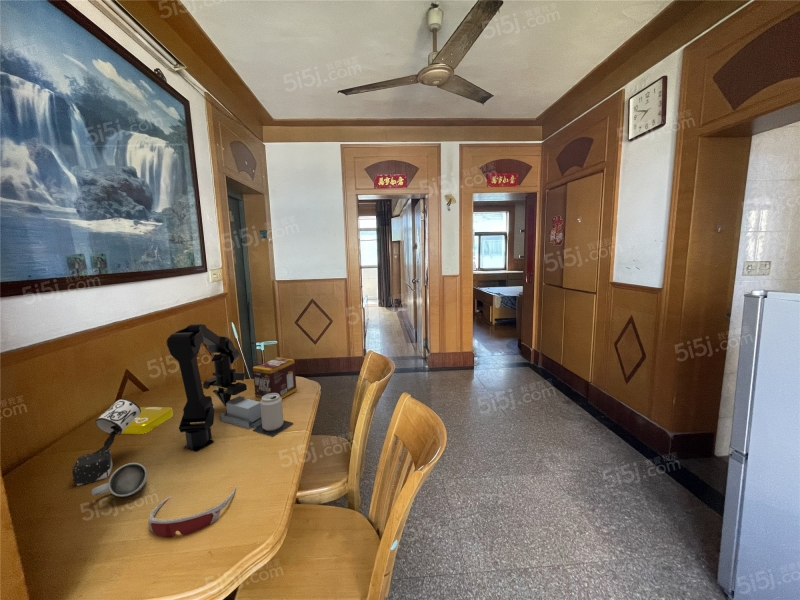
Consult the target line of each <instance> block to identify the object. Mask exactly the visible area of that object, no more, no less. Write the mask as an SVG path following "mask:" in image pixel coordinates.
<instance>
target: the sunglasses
mask: <svg viewBox="0 0 800 600" xmlns="http://www.w3.org/2000/svg"><path fill="white" fill-rule="evenodd" d="M236 488H237V486H236V484H235V485H234V487H233V490H232V492H231V493H230V495H229V496H228V497H227V498H226V499H225V500H223V501H222V502H221V503H219V504H218V505H216V506H212V507H211V508H209V509H206V510H203V511H202V512H199V513H196V514H192V515H189V516H184V517H179V518H170V519H160V518H156V517H155V515H156V513H157V512H158V510H159V509H160V508H161V507H162V506H163V505H164V504H165V503H166V502H168V500H169V499H170V498H171V497H172V496H170V495H169V496H168V497H166V498H165V499H164V500H162V501H161V502H160V503H159V504H158V505H157V506H156V507H154V508H153V509H152V511H151V512H150V514H149V518H148V526H149V529H150V531H151V532H152V533H153V534H155V535H156V536H158V537H161V538H162V537H163V538H173V537H174V535H175V534H176V532H179V533H180V534H181V535H183V536H188V535H190V534H192V533H196V532H199V531H200V530H202V529H204V528H206V527H207V526H210V525H212V523H215V522H217V521H218V519H219V517H220V514H221V511H223V509H224V508H225V507H227V506H228V505H229V503H230V501H231V500H232V499H233V496H234V495H235V492H236Z"/></svg>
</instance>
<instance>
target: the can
mask: <svg viewBox="0 0 800 600" xmlns="http://www.w3.org/2000/svg"><path fill="white" fill-rule="evenodd" d="M259 402H260V408H261V419H262V428H263V429H265V430H267V431H273V430H276V429H278V428H280V427H281V426H282V425H283V423H284V421H285V420H284V413H283V412H284V411H283V410H284V409H283V399H282V398H281V397H280V395H279V394H277V393H270V394H266V395H264V396H263V397H262V400H261V401H259ZM283 420H284V421H283Z"/></svg>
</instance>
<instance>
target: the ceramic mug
mask: <svg viewBox="0 0 800 600" xmlns="http://www.w3.org/2000/svg"><path fill="white" fill-rule="evenodd" d="M147 475H148V471H147V468H146V466H144V465H143V464H141V463H139V462H129V463H126V464H124V465H121V466H119V467H118V468H117V469H116V470H114V472H113V473H112V474H111V475H110V476H109V477H110V478H109V480H108V482H105V483H103V484H100V485H98V486H96V487H93V488H92V489H91V496H92V497H94V496H99V495H103V494H106V493H111V494H112V495H113V496H116V497H122V498H123V497H129V496H132V495H134V494H136V493H137V492H139V491H140V490H142V489H143V487H144V486H145V484H146V483H147V479H148V476H147Z"/></svg>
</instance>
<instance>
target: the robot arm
mask: <svg viewBox="0 0 800 600" xmlns="http://www.w3.org/2000/svg"><path fill="white" fill-rule="evenodd" d="M202 343H203V344H204V345H206V346H207V348H206V349H207V350H208V351H209V352H210V353H211V354H214V356H213V357H212V358H211V362H213V367H214V372H212V376H213V377H212V378H209V379H207V380H204V382H203V383H202V378H201V374H200V369H199V364H198V359H197V356H198V353H199V351H200V349H201V344H202ZM166 347H167V348H168V351H169V354H170V356H171V357H172V358H174V359H175V360H176V361H177V362H178V365H179V370H180V375H181V379H182V384H183V387H184V392H185V397H186V403H185V404H184V407H183V414H182V417H181V420H180V422H179V427H178V431H179V432H180V433H184V434H185V440H186V445H184V446H183V448H185V449H187V450H190V451H192V452H195V453H196V452H199V451H201V450H203V449H205V448H206V447H208V446H210V445H212V444H214V442H215V440H213V439H212V428H211V427H212V426H213V425H214V422H215V421H214V419H215V408H214V404H213V399H212V397H211V396H210V395H205V394H204V389H205V390H209V389H210V388H211V386H213V388H214V389H213V391H212V393H214V394H215V396H216V397H217V398H218V399H219V400H220V402H221V403H222V405H223V406H224V407H226V408H227V406H226V403H228V401H229V400H231V399H232V398H231V397H232V396H237V395H239V394H241V393H243V392H246V391H247V390H248V388H247V384H246V383H244V380H245V377H246V373H245V372H241V371H236V369H235V368H232V364H233V363H235V362H236V361H237V360H238V359H239V358H240V355H241V354H240V351H239V349H237V348H236V347H235V345H234V343H233V342H232V340H231V338H230V337H227V336H220V335H218V334H217V333H215V332H214V331H212V330H211V329H209V328H208V327H207V325H206V324H203V323H200V324H199V323H194V324H193V323H192V324H189V325H187V326H186V327H184V328H182V329H179V330H177V331H175V332H174V333H171V334H170V336H168V338H167V339H166ZM237 381H240V382H237ZM241 381H242V382H241Z"/></svg>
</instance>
